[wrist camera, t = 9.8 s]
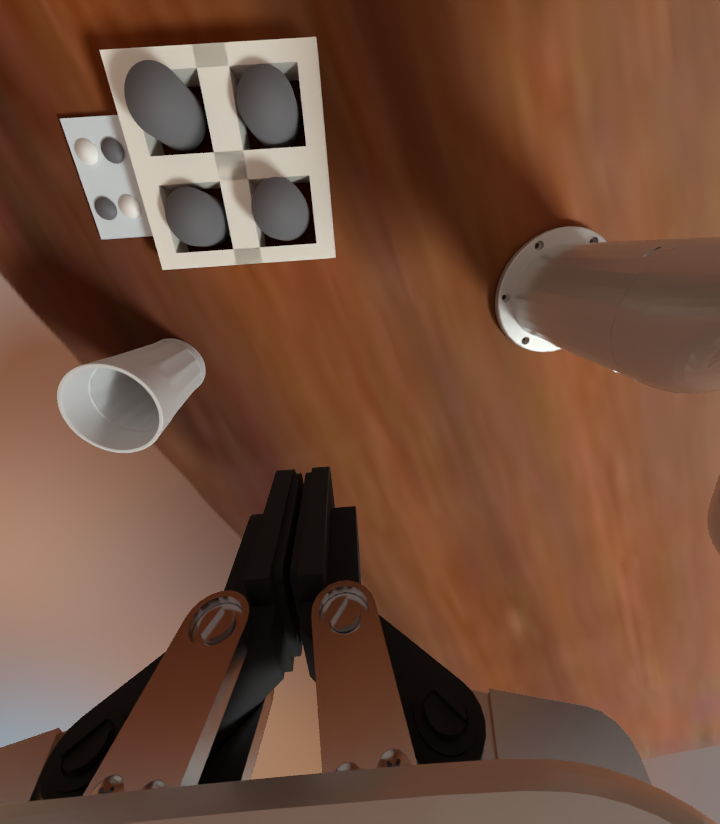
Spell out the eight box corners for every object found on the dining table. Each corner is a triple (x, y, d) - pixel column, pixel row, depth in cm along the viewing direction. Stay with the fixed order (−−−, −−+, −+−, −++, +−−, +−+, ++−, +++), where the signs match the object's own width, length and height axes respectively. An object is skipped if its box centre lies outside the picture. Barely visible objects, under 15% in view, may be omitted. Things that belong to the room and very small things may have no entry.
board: (318, 57, 28) (316, 36, 25) (335, 257, 34) (335, 257, 32) (123, 69, 28) (99, 49, 25) (177, 268, 34) (162, 269, 31)
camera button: (296, 83, 28) (290, 61, 25) (303, 148, 30) (299, 136, 27) (243, 86, 28) (230, 65, 25) (253, 152, 30) (243, 140, 27)
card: (124, 117, 29) (118, 113, 28) (157, 235, 33) (153, 235, 32) (64, 121, 29) (57, 117, 28) (105, 239, 33) (100, 239, 32)
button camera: (197, 81, 27) (178, 57, 24) (211, 149, 29) (195, 137, 25) (141, 84, 27) (114, 61, 23) (159, 153, 29) (136, 140, 25)
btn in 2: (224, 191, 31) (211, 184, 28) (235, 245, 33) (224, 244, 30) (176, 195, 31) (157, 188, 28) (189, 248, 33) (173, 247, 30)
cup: (128, 333, 37) (38, 367, 26) (202, 328, 37) (144, 359, 26) (152, 401, 40) (81, 456, 29) (220, 396, 40) (175, 449, 29)
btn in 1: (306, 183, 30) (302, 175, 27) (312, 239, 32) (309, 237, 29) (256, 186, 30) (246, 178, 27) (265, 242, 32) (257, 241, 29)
